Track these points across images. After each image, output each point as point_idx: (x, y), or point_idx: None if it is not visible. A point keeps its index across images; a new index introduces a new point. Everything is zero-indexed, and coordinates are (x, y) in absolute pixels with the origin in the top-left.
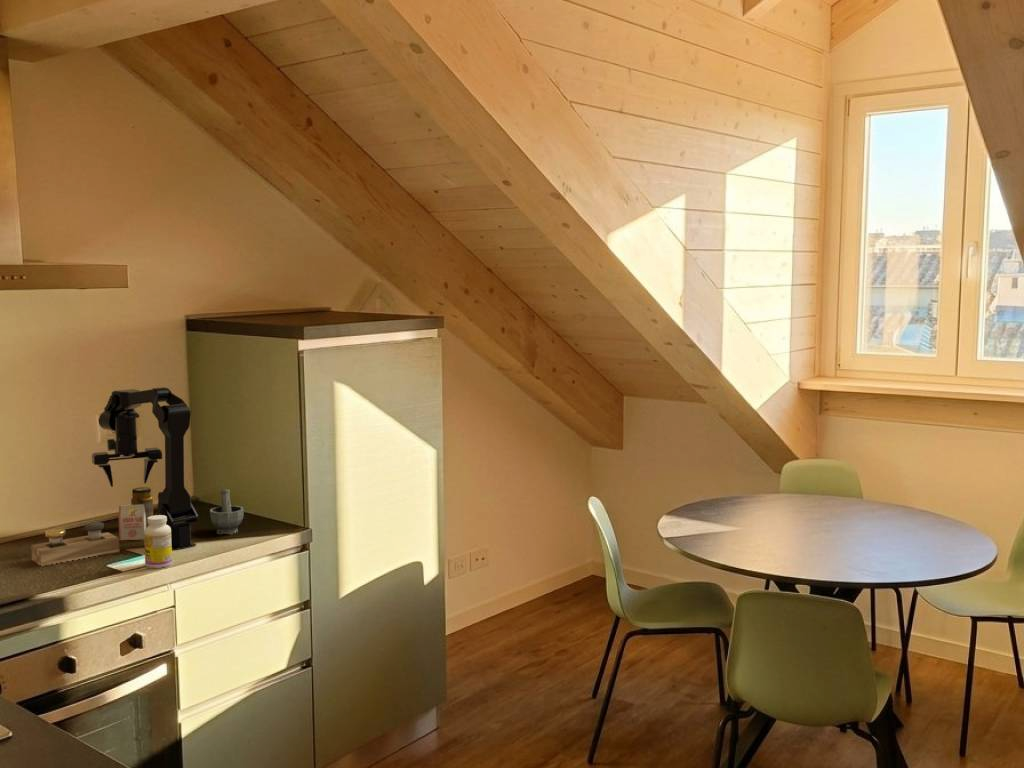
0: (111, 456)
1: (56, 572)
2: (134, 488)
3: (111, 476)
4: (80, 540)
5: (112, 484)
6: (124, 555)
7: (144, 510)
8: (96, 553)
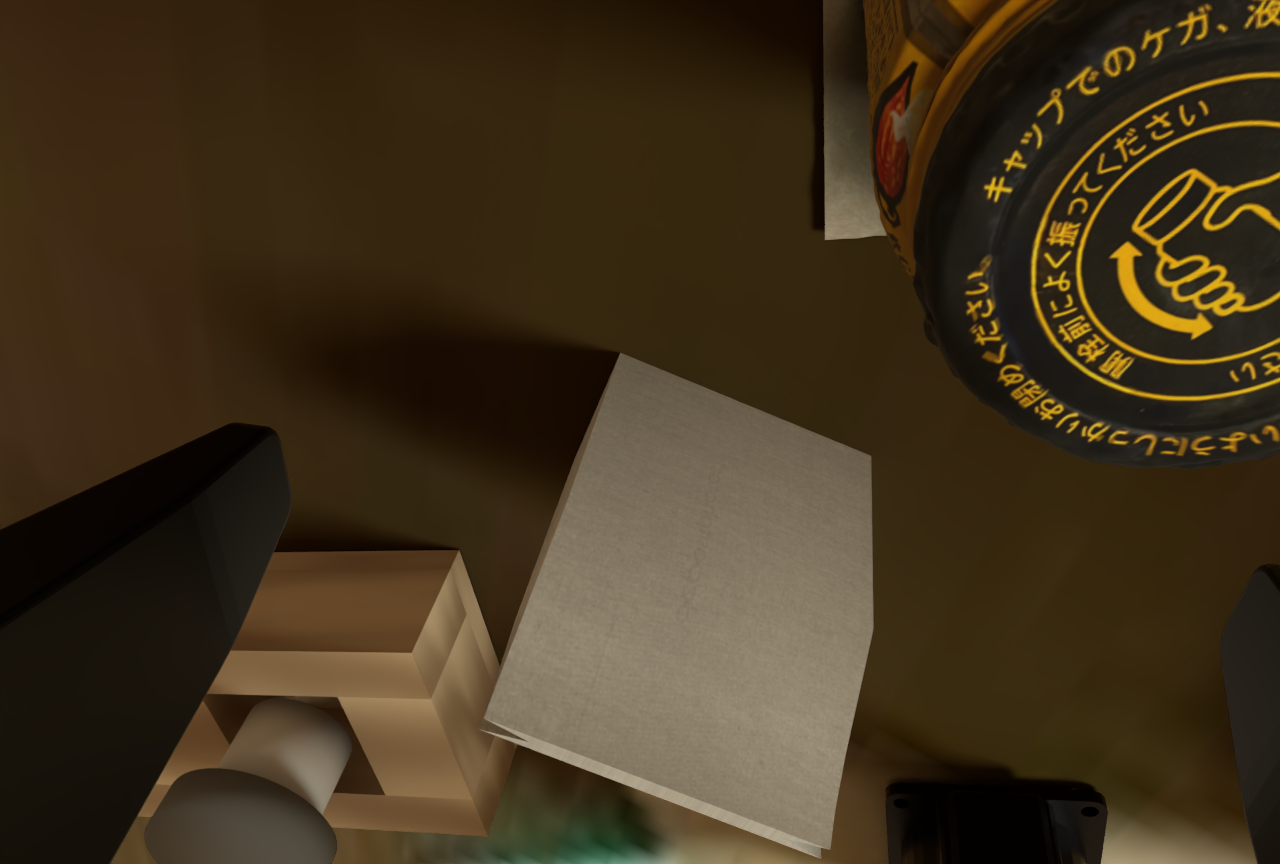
0: None
1: (141, 837)
2: (1063, 72)
3: (93, 862)
4: (182, 739)
5: (254, 573)
6: (544, 800)
7: (841, 747)
8: None
